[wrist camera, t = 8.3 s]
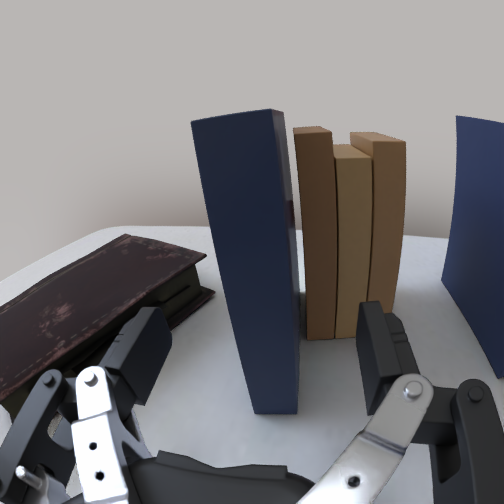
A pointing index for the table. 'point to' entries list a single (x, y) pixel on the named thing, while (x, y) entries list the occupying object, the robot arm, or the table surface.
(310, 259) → the tan books
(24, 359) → the diary
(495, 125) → the navy book pair
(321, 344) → the table surface
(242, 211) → the navy book
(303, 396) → the table surface
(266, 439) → the table surface
